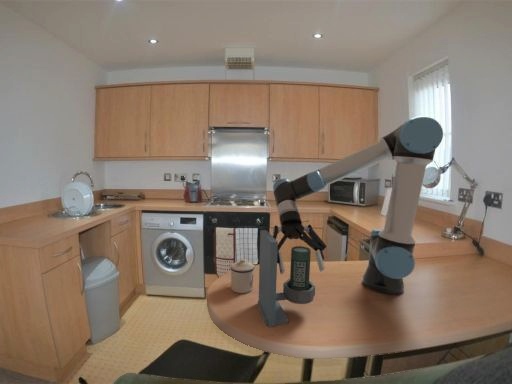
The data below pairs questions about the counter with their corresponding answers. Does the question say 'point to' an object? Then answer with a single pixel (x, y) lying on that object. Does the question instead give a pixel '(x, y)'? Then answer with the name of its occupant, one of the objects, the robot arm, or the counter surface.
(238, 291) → the teacup with lid
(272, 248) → the cup bracket
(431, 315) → the counter surface
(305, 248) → the can
